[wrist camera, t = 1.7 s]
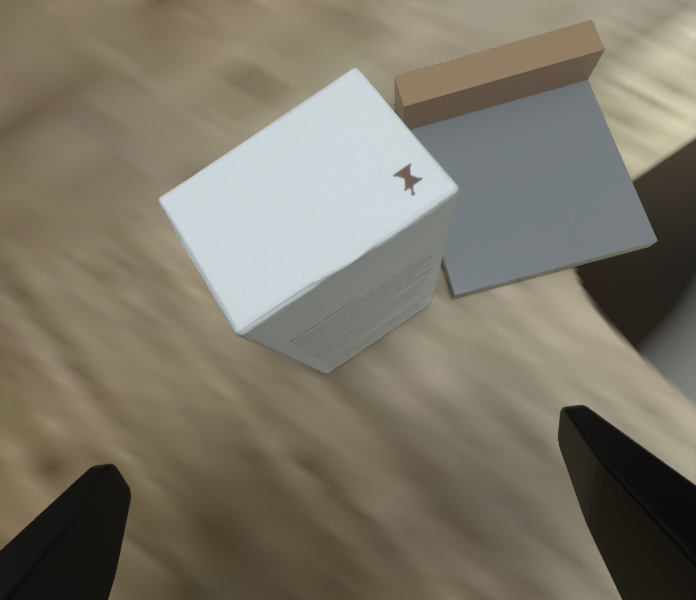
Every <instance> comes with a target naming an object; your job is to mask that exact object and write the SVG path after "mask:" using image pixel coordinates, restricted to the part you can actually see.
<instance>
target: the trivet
mask: <svg viewBox="0 0 696 600" xmlns="http://www.w3.org/2000/svg"><path fill="white" fill-rule="evenodd" d="M604 50H605V48H604V46H603V44H602V42H601V40H600V37H599V35H598V33H597V31H596V28H595V26H594V24H593V22H592V20H589V21H586V22H582V23H579V24H575V25H572V26H568V27H565V28H561V29H558V30H554V31H551V32H547V33H544V34H540V35H537V36H534V37H530V38H527V39H523V40H520V41H516V42H513V43H509V44H506V45H502V46H499V47H495V48H492V49H488V50H485V51H482V52H478V53H475V54H471V55H468V56H464V57H461V58H457V59H454V60H450V61H447V62H443V63H440V64H436V65H433V66H429V67H426V68H423V69H419V70H416V71H412V72H409V73H405V74H402V75H398V76H395V113H396V114H397V115H398V116H399V118H400V119H401V120H402V121H403V122H404V123H405V125H406V126H407V127H408V128H409V129H410V131H411V132H412V133H413V134H414V135H415V136H416V138H417V139H418V140H419V141H420V142H421V143H422V145H423V146H424V147H425V148H426V149H427V150H428V152H429V153H430V154H431V155H432V156H433V157H434V158H435V160H436V161H437V162H438V163H439V164H440V165H441V166H442V168H443V169H444V170H445V171H446V172H447V173H448V175H449V176H450V177H451V178H452V179H453V180H454V181H455V183H456V184H457V185H458V187H459V192H458V196H457V200H456V205H455V209H454V212H453V217H452V221H451V225H450V229H449V233H448V237H447V240H446V245H445V249H444V253H443V257H442V265H443V268H444V271H445V275H446V278H447V281H448V284H449V287H450V291H451V294H452V297H453V299H455V298H459V297H462V296H466V295H470V294H474V293H477V292H481V291H485V290H489V289H492V288H496V287H500V286H504V285H507V284H511V283H515V282H519V281H522V280H526V279H530V278H534V277H537V276H541V275H545V274H549V273H552V272H556V271H560V270H564V269H567V268H571V267H575V266H579V265H583V264H586V263H590V262H593V261H597V260H601V259H605V258H609V257H612V256H616V255H620V254H623V253H628V252H631V251H635V250H639V249H642V248H646V247H649V246H651V245H652V244H654V243H655V242H656V241H657V238H656V236H655V234H654V232H653V229H652V227H651V225H650V223H649V220H648V218H647V215H646V213H645V211H644V209H643V206H642V204H641V202H640V200H639V197H638V195H637V193H636V190H635V188H634V185H633V183H632V181H631V179H630V176H629V174H628V172H627V169H626V167H625V165H624V162H623V160H622V158H621V155H620V153H619V151H618V149H617V146H616V144H615V142H614V139H613V137H612V135H611V132H610V130H609V128H608V125H607V123H606V121H605V119H604V116H603V114H602V112H601V109H600V107H599V105H598V102H597V100H596V98H595V96H594V93H593V91H592V89H591V86H590V84H589V82H588V78H589V76H590V75H591V73H592V71H593V69H594V68H595V66H596V64H597V62H598V61H599V59H600V57H601V55H602V54H603V52H604Z"/></svg>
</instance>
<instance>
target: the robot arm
mask: <svg viewBox="0 0 696 600" xmlns="http://www.w3.org/2000/svg"><path fill="white" fill-rule="evenodd" d="M558 442H559V447H560V450H561V453H562V456H563V459H564V462H565V464H566V467H567V470H568V473H569V476H570V479H571V482H572V484H573V487H574V490H575V493H576V496H577V499H578V502H579V504H580V507H581V510H582V513H583V516H584V518H585V521H586V524H587V526H588V528H589V530H590V533H591V535H592V537H593V539H594V541H595V543H596V546H597V548H598V550H599V552H600V554H601V556H602V558H603V560H604V562H605V564H606V566H607V569H608V571H609V573H610V575H611V577H612V579H613V581H614V583H615V585H616V587H617V590H618V592H619V594H620V596H621V598H622V600H696V485H695V484H693V483H692V482H691V481H689V480H688V479H686V478H685V477H684V476H682V475H681V474H680V473H678V472H677V471H675V470H674V469H673V468H671V467H670V466H668V465H667V464H666V463H664V462H663V461H662V460H660V459H659V458H657V457H656V456H655V455H653V454H652V453H650V452H649V451H648V450H646V449H645V448H644V447H642V446H641V445H639V444H638V443H637V442H635V441H634V440H633V439H631V438H630V437H628V436H627V435H626V434H624V433H623V432H621V431H620V430H619V429H617V428H616V427H615V426H613V425H612V424H610V423H609V422H608V421H606V420H605V419H603V418H602V417H601V416H599V415H598V414H597V413H595V412H594V411H592V410H591V409H590V408H588V407H587V406H584V405H575V406H567V407H563V408H562V409H561V412H560V420H559V430H558ZM130 501H131V491H130V488H129V486H128V484H127V483H126V481H125V480H124V478H123V476H122V475H121V473H120V472H119V470H118V468H117V467H116V466H115V465H113V464H103V465H95V466H93V467H91V468H90V469H88V470H87V471H86V472H85V473H84V474H83V475H82V476H81V477H80V478H79V479H77V480H76V481H75V482H74V483H73V484H72V485H71V486H70V487H69V488H68V489H67V490H66V491H64V492H63V493H62V494H61V495H60V496H59V497H58V498H57V499H56V500H55V501H54V502H53V503H51V504H50V505H49V506H48V507H47V508H46V509H45V510H44V511H43V512H42V513H41V514H40V515H38V516H37V517H36V518H35V519H34V520H33V521H32V522H31V523H30V524H29V525H28V526H27V527H25V528H24V529H23V530H22V531H21V532H20V533H19V534H18V535H17V536H16V537H15V538H14V539H12V540H11V541H10V542H9V543H8V544H7V545H6V546H5V547H4V548H3V549H2V550H1V551H0V600H108V598H109V595H110V592H111V588H112V585H113V581H114V578H115V574H116V570H117V566H118V561H119V556H120V551H121V546H122V541H123V536H124V531H125V526H126V521H127V516H128V511H129V506H130Z"/></svg>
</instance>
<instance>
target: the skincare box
mask: <svg viewBox="0 0 696 600" xmlns="http://www.w3.org/2000/svg"><path fill="white" fill-rule="evenodd" d="M458 192H459V187H458V185H457V184H456V183H455V181H454V180H453V179H452V178H451V177H450V176H449V175H448V173H447V172H446V171H445V170H444V169H443V168H442V166H441V165H440V164H439V163H438V162H437V161H436V160H435V158H434V157H433V156H432V155H431V154H430V153H429V152H428V150H427V149H426V148H425V147H424V146H423V145H422V143H421V142H420V141H419V140H418V139H417V138H416V136H415V135H414V134H413V133H412V132H411V131H410V129H409V128H408V127H407V126H406V125H405V123H404V122H403V121H402V120H401V119H400V118H399V116H398V115H397V114H396V113H395V112H394V111H393V109H392V108H391V107H390V106H389V105H388V103H387V102H386V101H385V100H384V99H383V98H382V96H381V95H380V94H379V93H378V92H377V90H376V89H375V88H374V87H373V86H372V84H371V83H370V82H369V81H368V80H367V79H366V77H365V76H364V75H363V74H362V73H361V71H360V70H359V69H358V68H353V69H351V70H350V71H348V72H347V73H345V74H344V75H342V76H341V77H339V78H338V79H336V80H335V81H334V82H332V83H331V84H329V85H328V86H326V87H325V88H323V89H322V90H320V91H319V92H317V93H316V94H314V95H313V96H311V97H310V98H308V99H307V100H305V101H303V102H302V103H300V104H299V105H298V106H296V107H295V108H293V109H292V110H290V111H289V112H287V113H286V114H284V115H283V116H281V117H280V118H278V119H277V120H275V121H274V122H272V123H271V124H269V125H268V126H266V127H265V128H264V129H262V130H261V131H259V132H258V133H256V134H255V135H253V136H252V137H250V138H249V139H247V140H246V141H244V142H243V143H241V144H240V145H238V146H237V147H236V148H234V149H233V150H231V151H230V152H228V153H227V154H225V155H224V156H222V157H221V158H219V159H217V160H216V161H214V162H213V163H211V164H210V165H208V166H207V167H205V168H204V169H202V170H201V171H199V172H198V173H196V174H195V175H194V176H192V177H191V178H189V179H188V180H186V181H185V182H183V183H181V184H180V185H178V186H177V187H175V188H174V189H172V190H171V191H169V192H167V193H166V194H164V195H162V196H161V197H160V198H159V204H160V206H161V207H162V209H163V211H164V212H165V214H166V216H167V218H168V219H169V221H170V223H171V225H172V226H173V228H174V230H175V232H176V233H177V235H178V237H179V239H180V240H181V242H182V244H183V245H184V247H185V249H186V251H187V252H188V254H189V256H190V258H191V259H192V261H193V263H194V265H195V266H196V268H197V270H198V271H199V273H200V275H201V277H202V278H203V280H204V282H205V284H206V285H207V287H208V289H209V291H210V292H211V294H212V296H213V297H214V299H215V301H216V302H217V304H218V306H219V307H220V309H221V311H222V312H223V314H224V316H225V318H226V319H227V321H228V323H229V324H230V326H231V328H232V330H233V331H234V333H235V334H236V335H237V336H239V337H242V338H245V339H247V340H250V341H252V342H255V343H257V344H260V345H262V346H264V347H266V348H269V349H271V350H273V351H276V352H278V353H280V354H282V355H284V356H286V357H289V358H291V359H293V360H295V361H298V362H300V363H302V364H304V365H306V366H308V367H310V368H313V369H315V370H317V371H319V372H321V373H324V374H328V373H329V372H331V371H332V370H334V369H335V368H337V367H338V366H340V365H341V364H343V363H344V362H346V361H347V360H349V359H350V358H352V357H353V356H355V355H356V354H358V353H359V352H361V351H362V350H363V349H365V348H366V347H368V346H369V345H371V344H372V343H374V342H375V341H377V340H378V339H380V338H381V337H383V336H384V335H386V334H387V333H389V332H390V331H392V330H393V329H394V328H396V327H397V326H399V325H400V324H402V323H403V322H405V321H406V320H408V319H409V318H411V317H412V316H413V315H415V314H416V313H418V312H419V311H421V310H422V309H424V308H425V307H427V306H428V305H430V304H431V303H432V298H433V295H434V290H435V287H436V282H437V278H438V274H439V269H440V266H441V262H442V257H443V253H444V249H445V245H446V240H447V237H448V233H449V229H450V225H451V221H452V217H453V212H454V209H455V205H456V200H457V196H458Z"/></svg>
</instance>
